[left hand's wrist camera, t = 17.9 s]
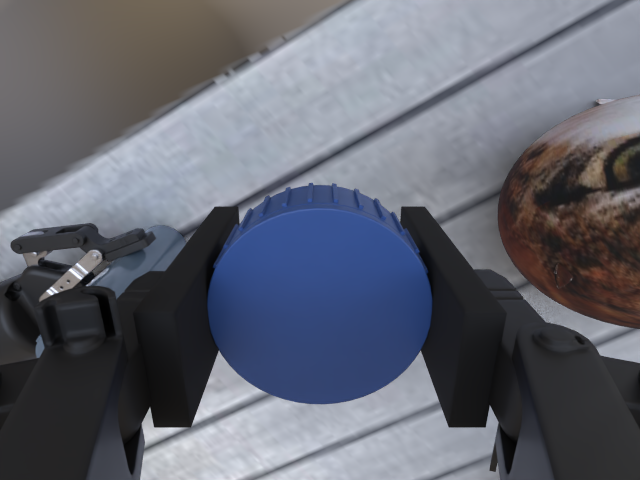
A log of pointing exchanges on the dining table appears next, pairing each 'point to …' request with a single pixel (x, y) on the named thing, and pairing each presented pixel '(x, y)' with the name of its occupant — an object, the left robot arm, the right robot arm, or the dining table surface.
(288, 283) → the lid
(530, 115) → the dining table surface
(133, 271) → the blue-grey bottle
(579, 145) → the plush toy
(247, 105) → the dining table surface
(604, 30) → the dining table surface
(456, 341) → the left robot arm
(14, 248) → the right robot arm
